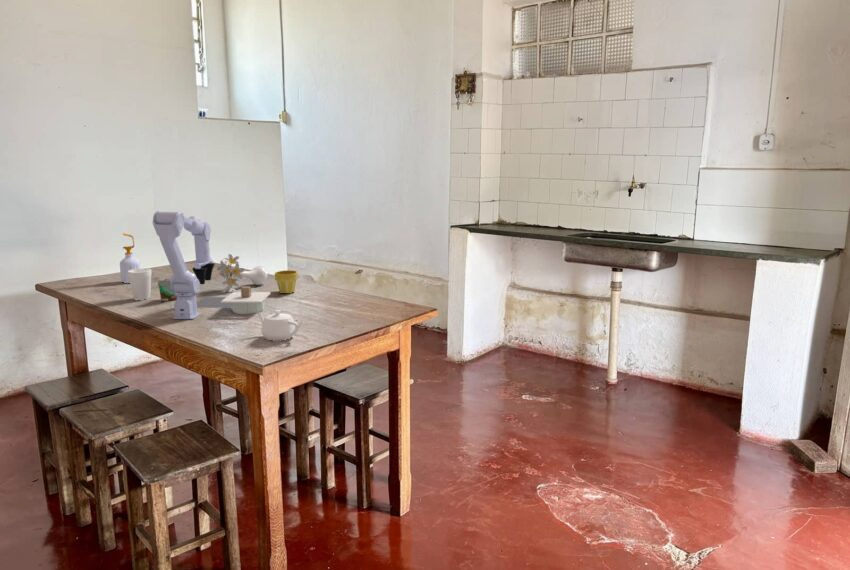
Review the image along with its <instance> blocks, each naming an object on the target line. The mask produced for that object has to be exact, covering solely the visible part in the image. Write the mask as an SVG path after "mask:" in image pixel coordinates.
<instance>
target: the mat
mask: <svg viewBox="0 0 850 570" xmlns="http://www.w3.org/2000/svg"><path fill="white" fill-rule="evenodd" d="M226 297H227V296H221V297H220V296H218V297H217V296H215V297H213V296H204V297H202V298H200V299H199V300H198V301H196V302H197V308H209V309H210V308H216V309H217V308H218V309H219V308H221V309H223V308H224V309H225V308H226V309H227V308H229V309H231V303H221V301H222V300H223V299H225V298H226Z"/></svg>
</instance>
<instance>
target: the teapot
mask: <svg viewBox="0 0 850 570" xmlns="http://www.w3.org/2000/svg"><path fill="white" fill-rule="evenodd" d="M281 312H282V310H281V309H276V310H274V313H273V314H269V315H266V316H265V317H264V315H263V314H262V312H258V313H257V314H258V316H259V319H260V322H261V324H262V326H261V329H260V331H261V334H262V336H263V338H265V339H266V340H267V339H268V340H267V341H269V340H285V339H289V338H291V337H292V338H293V336H295V335H296V334H297V333H298V332H299V331H300V324H299V323H298V322H296V321H295V320H294V318H293V316H292V315H291V314H289V313H281ZM292 338H291V339H292ZM289 340H290V339H289ZM285 341H286V340H285Z"/></svg>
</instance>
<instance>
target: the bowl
mask: <svg viewBox="0 0 850 570" xmlns="http://www.w3.org/2000/svg"><path fill="white" fill-rule="evenodd" d="M265 306H266V305H265V299H264V300H263V301H262V302H261V303H231V308H230V311H232V313H234V314H238V315H250V314H258V313H262V312H263V311H264V309H265Z"/></svg>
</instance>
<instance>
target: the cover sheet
mask: <svg viewBox="0 0 850 570" xmlns="http://www.w3.org/2000/svg"><path fill="white" fill-rule="evenodd" d="M270 295H271V292H270V291H265V292H263V291H262V292H261V291H257V292H256V291H252V286H248V285H247V286H245V285H244V286H241V287H240V291H232V293H231V292H230V294H229V295H227V296H225V297H226V298H225V299H223V300H222V301H221V303H261V302H262V301H263V300H264V301H265V299H267V298H268V297H269V296H270Z"/></svg>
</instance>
